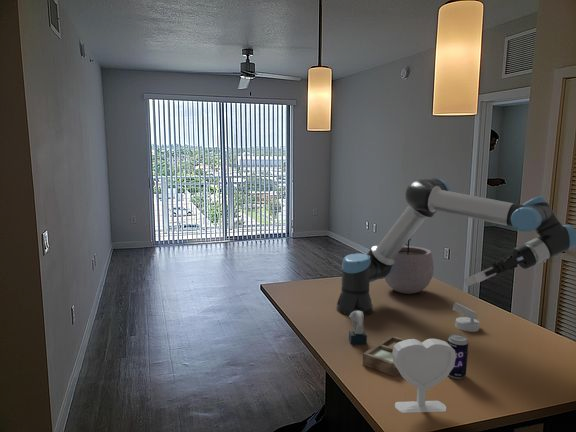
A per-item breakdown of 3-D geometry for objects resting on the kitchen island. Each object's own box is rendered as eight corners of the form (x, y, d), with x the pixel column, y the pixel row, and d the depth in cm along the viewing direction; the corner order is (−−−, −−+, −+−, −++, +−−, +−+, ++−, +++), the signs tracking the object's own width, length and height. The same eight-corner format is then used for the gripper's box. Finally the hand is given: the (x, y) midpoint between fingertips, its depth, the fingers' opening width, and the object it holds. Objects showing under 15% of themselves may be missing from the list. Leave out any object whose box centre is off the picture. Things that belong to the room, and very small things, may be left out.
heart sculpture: (394, 413, 113) (398, 346, 110) (388, 402, 117) (391, 338, 115) (453, 411, 114) (458, 345, 111) (445, 400, 119) (449, 337, 116)
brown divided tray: (362, 364, 138) (362, 353, 138) (390, 345, 153) (391, 335, 152) (394, 376, 131) (395, 364, 131) (421, 355, 146) (421, 344, 145)
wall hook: (451, 298, 174) (478, 300, 172) (449, 322, 176) (476, 324, 174) (455, 306, 166) (483, 308, 164) (453, 330, 167) (481, 332, 165)
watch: (362, 336, 160) (364, 307, 158) (367, 346, 152) (368, 315, 150) (347, 336, 159) (348, 307, 158) (351, 346, 152) (352, 315, 150)
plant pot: (379, 283, 227) (382, 226, 223) (427, 286, 224) (430, 227, 220) (382, 298, 204) (385, 234, 200) (436, 301, 200) (440, 236, 196)
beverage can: (442, 371, 135) (444, 333, 133) (460, 370, 135) (463, 333, 134) (450, 380, 129) (453, 341, 128) (469, 379, 130) (472, 341, 128)
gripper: (551, 259, 131) (486, 288, 133) (522, 268, 155) (467, 293, 156) (537, 236, 134) (473, 266, 135) (511, 249, 157) (456, 274, 159)
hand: (470, 281), depth 146 cm, fingers open, 13 cm apart
